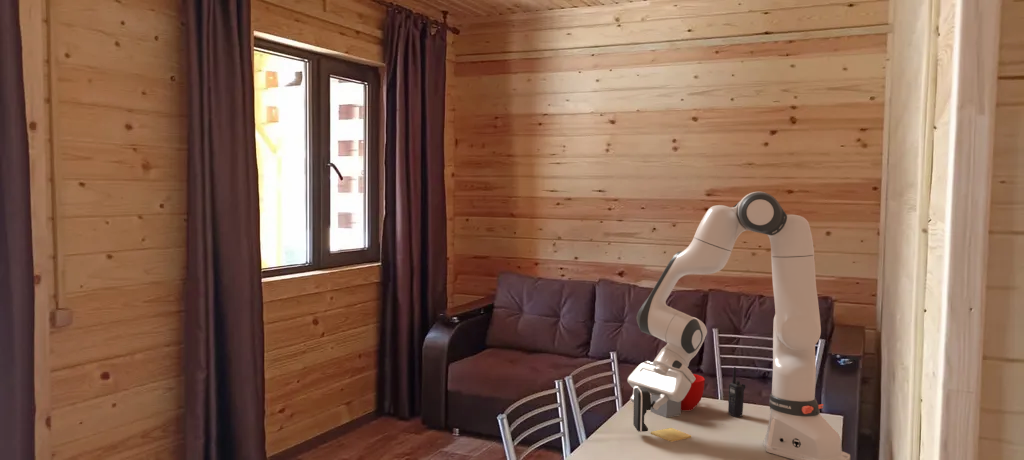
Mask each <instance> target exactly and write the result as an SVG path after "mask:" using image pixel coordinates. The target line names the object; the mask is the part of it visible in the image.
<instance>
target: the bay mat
mask: <svg viewBox="0 0 1024 460" xmlns="http://www.w3.org/2000/svg"><path fill="white" fill-rule="evenodd" d="M650 435H652V436H655V437H657V438H660V439H662V440H665V441H668V442H670V443H672V442H677V441H682V440H686V439H692V435H691V434H688V433H686V432H683V431H682V430H678V429H675V428H674V427H669V428H663V429H658V430H653V431H650Z"/></svg>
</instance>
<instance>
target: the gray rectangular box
mask: <svg viewBox="0 0 1024 460" xmlns="http://www.w3.org/2000/svg"><path fill="white" fill-rule="evenodd" d="M650 395H651V404H652V402H653V401H655V402H656V401H657V400H658V399H659V398H660V396H656V395H653V394H650ZM650 412H651V413H653V414H656V415H659V416H662V417H663V418H671V416H672V417H675V416H677V417H678V416H681V412H682V410H681V401H680V402H675V401H672V400H668V401H667V402H666V403H665V404H663V405H661V406H660V407H659V409H658V410H654V409H652V407H651V410H650Z"/></svg>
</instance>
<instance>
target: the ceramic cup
mask: <svg viewBox="0 0 1024 460" xmlns="http://www.w3.org/2000/svg"><path fill="white" fill-rule="evenodd" d="M692 374H693V375H694V376H695V378H696V379H695V381H694V382H693V383H691V387H690V390H689V391H688V393H687V395H686V396H685V398H684V399H683V400H682V401H681V412H682V411H683V412H685V411H687V412H688V411H692V410H694V408H696V407H697V406H698V405H699V403H700V401H701V400H702V398H703V395H704V389H705V381H706V379H705V378H704V376H702V375H699V374H695V373H692Z"/></svg>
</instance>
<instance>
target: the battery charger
mask: <svg viewBox="0 0 1024 460" xmlns="http://www.w3.org/2000/svg"><path fill="white" fill-rule="evenodd" d="M648 411H651V394H650V393H649V391H648V390H647V389H646V388H639V387H637V388H634V402H633V418H632V419H633V426H634V428H635V430H636V431H637V432H638V433H639V432H640V433H641V432H648V431H649V427H648V426H647V425H646V424H645V415H646V413H647V412H648Z"/></svg>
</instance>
